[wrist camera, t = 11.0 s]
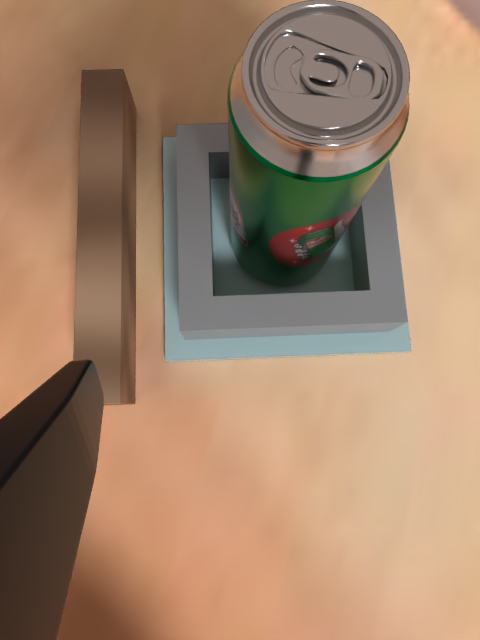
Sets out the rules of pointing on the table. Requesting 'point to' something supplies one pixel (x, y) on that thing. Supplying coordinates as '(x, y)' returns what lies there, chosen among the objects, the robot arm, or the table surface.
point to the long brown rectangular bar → (107, 234)
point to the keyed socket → (260, 298)
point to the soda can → (309, 133)
